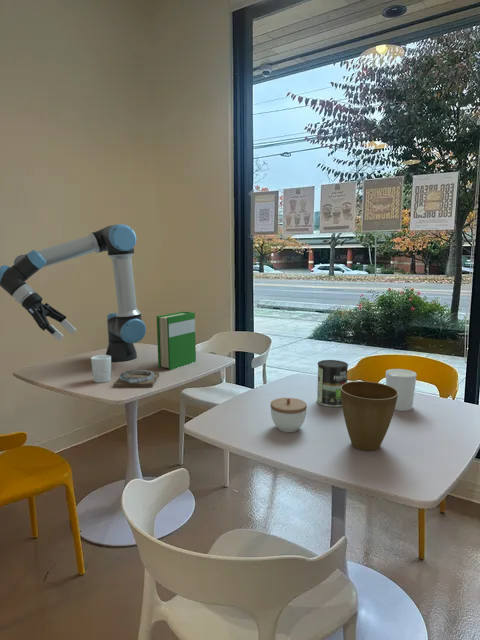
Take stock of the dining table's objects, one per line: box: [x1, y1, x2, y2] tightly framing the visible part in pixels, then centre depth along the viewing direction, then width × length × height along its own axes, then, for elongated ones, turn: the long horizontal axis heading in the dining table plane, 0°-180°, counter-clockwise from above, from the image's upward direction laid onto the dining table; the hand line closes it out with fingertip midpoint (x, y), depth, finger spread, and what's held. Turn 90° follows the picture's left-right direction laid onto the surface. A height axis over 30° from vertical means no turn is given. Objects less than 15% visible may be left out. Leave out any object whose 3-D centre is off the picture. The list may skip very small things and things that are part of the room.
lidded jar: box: [270, 397, 308, 433], centre depth 129 cm, size 11×11×9 cm
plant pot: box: [340, 380, 398, 452], centre depth 117 cm, size 15×15×16 cm
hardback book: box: [156, 311, 197, 371], centre depth 200 cm, size 18×7×24 cm, turn 145°
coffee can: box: [316, 359, 349, 408], centre depth 150 cm, size 10×10×14 cm
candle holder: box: [385, 368, 418, 412], centre depth 146 cm, size 10×10×12 cm
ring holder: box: [113, 369, 160, 388], centre depth 176 cm, size 15×15×3 cm
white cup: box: [90, 354, 112, 384], centre depth 177 cm, size 8×8×10 cm
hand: (68, 335), depth 174 cm, fingers open, 13 cm apart
